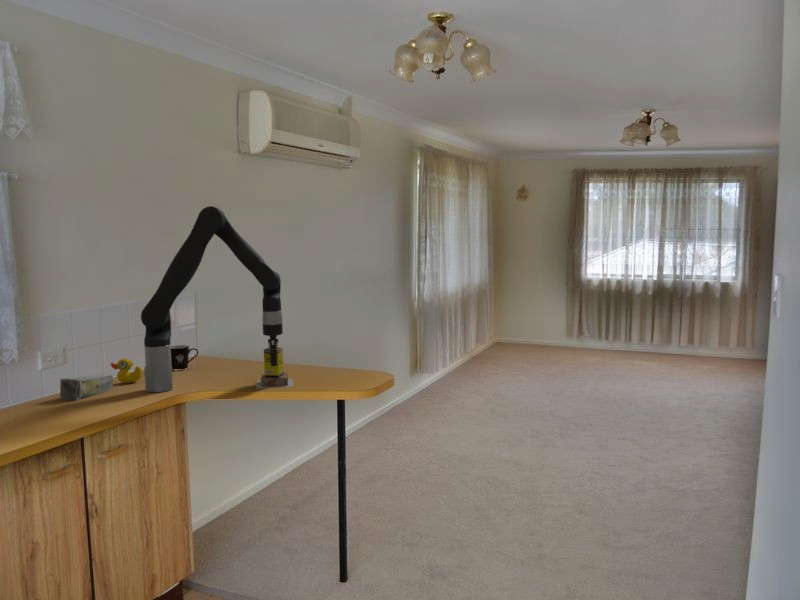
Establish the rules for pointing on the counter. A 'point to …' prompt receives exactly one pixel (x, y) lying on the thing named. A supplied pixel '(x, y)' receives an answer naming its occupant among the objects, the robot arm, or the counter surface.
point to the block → (84, 386)
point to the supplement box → (273, 370)
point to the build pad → (258, 386)
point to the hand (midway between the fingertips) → (274, 363)
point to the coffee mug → (180, 356)
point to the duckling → (124, 373)
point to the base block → (274, 380)
